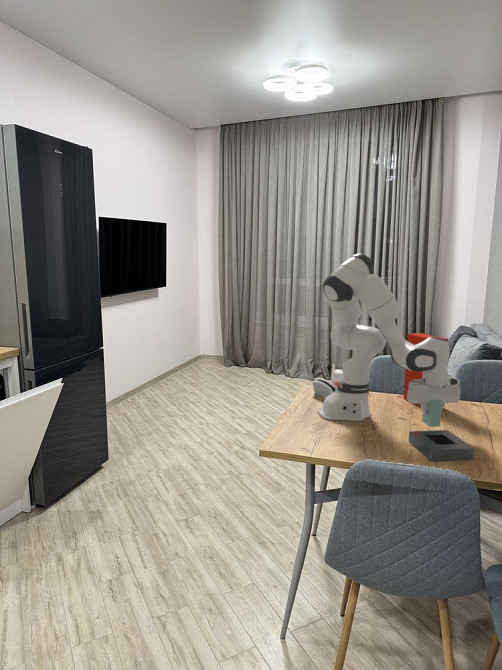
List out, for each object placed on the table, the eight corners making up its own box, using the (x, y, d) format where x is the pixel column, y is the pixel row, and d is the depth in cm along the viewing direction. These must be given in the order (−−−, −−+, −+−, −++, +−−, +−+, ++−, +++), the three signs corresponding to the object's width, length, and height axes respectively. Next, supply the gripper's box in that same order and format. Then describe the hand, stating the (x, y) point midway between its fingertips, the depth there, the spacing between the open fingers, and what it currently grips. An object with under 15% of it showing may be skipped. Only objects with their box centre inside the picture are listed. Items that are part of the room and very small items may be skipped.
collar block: (431, 461, 156) (432, 449, 156) (408, 441, 173) (409, 431, 172) (473, 459, 158) (474, 448, 158) (446, 440, 175) (447, 430, 174)
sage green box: (430, 426, 179) (432, 401, 177) (422, 421, 184) (424, 396, 183) (440, 426, 179) (442, 401, 177) (431, 421, 185) (433, 396, 183)
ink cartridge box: (343, 396, 229) (344, 367, 226) (332, 396, 229) (334, 367, 227) (340, 391, 237) (341, 363, 235) (330, 391, 237) (331, 363, 235)
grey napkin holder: (343, 401, 221) (338, 382, 218) (335, 405, 220) (330, 387, 217) (322, 392, 236) (317, 374, 233) (315, 396, 234) (310, 378, 231)
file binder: (429, 409, 211) (435, 339, 206) (403, 399, 226) (407, 333, 221) (443, 407, 214) (449, 338, 209) (415, 397, 230) (420, 332, 224)
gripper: (413, 381, 174) (410, 417, 176) (463, 380, 177) (460, 415, 179) (405, 377, 180) (402, 411, 183) (454, 376, 183) (451, 410, 186)
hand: (431, 413), depth 181 cm, fingers closed on sage green box, 4 cm apart
